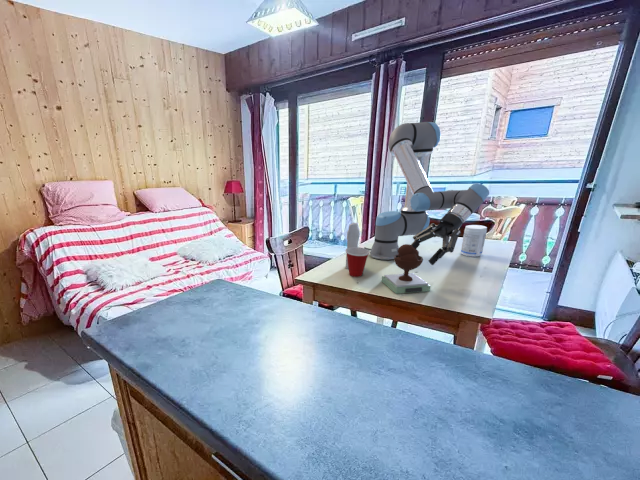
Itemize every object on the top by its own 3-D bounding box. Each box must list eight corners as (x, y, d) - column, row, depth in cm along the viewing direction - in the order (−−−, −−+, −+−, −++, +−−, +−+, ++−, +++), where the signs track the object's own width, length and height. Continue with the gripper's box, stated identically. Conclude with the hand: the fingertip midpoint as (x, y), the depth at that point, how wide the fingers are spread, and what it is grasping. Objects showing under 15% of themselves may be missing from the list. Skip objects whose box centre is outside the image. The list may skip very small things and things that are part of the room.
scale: (381, 281, 144) (382, 274, 142) (412, 279, 144) (413, 272, 143) (396, 294, 130) (397, 287, 129) (431, 292, 130) (432, 284, 129)
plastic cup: (355, 280, 146) (357, 255, 141) (339, 274, 155) (340, 249, 150) (373, 275, 150) (375, 250, 146) (356, 269, 159) (358, 245, 155)
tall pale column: (353, 262, 169) (355, 220, 161) (360, 264, 167) (363, 221, 158) (342, 267, 163) (344, 224, 154) (349, 269, 160) (351, 225, 152)
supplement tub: (471, 251, 176) (476, 224, 170) (486, 255, 167) (492, 227, 162) (455, 253, 174) (460, 225, 169) (470, 258, 166) (476, 229, 160)
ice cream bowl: (416, 285, 129) (422, 249, 123) (387, 280, 135) (391, 245, 130) (423, 277, 137) (428, 242, 131) (395, 273, 143) (399, 239, 137)
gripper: (486, 229, 122) (446, 272, 125) (436, 219, 145) (403, 255, 147) (477, 217, 119) (437, 261, 121) (427, 208, 142) (394, 245, 144)
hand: (418, 258), depth 134 cm, fingers open, 13 cm apart
